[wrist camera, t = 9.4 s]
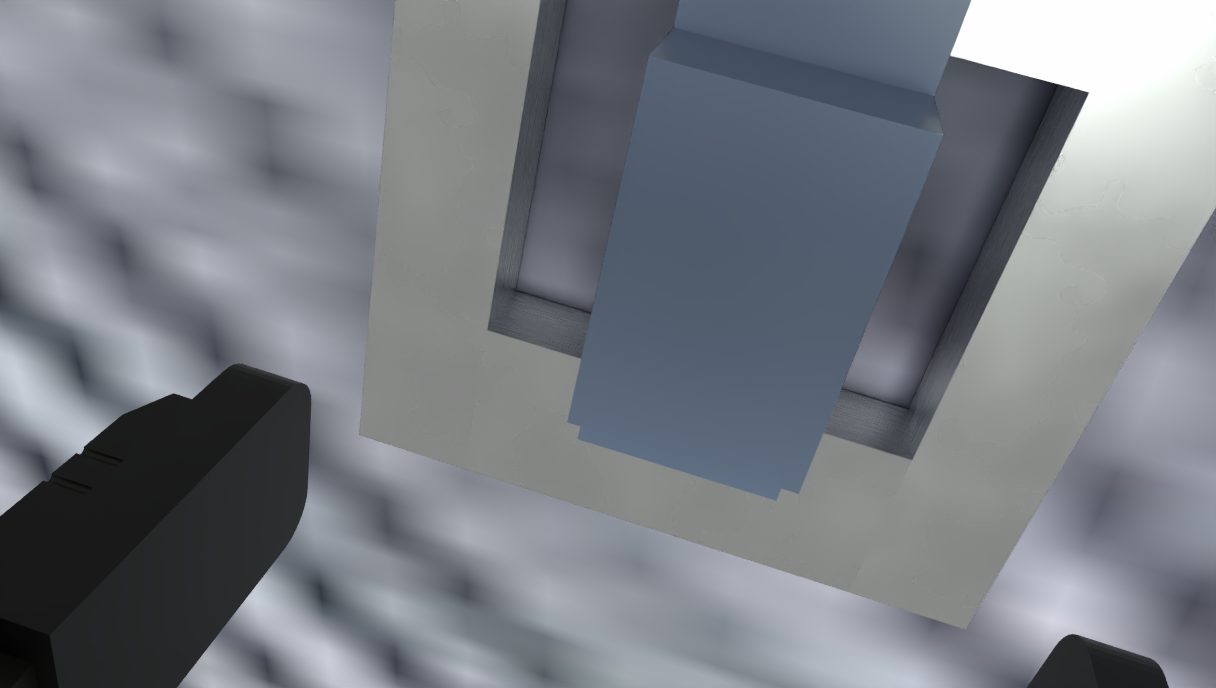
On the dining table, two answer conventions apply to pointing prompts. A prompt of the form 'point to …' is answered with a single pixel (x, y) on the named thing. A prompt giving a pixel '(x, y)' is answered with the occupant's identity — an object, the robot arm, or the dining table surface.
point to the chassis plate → (858, 426)
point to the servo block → (758, 228)
